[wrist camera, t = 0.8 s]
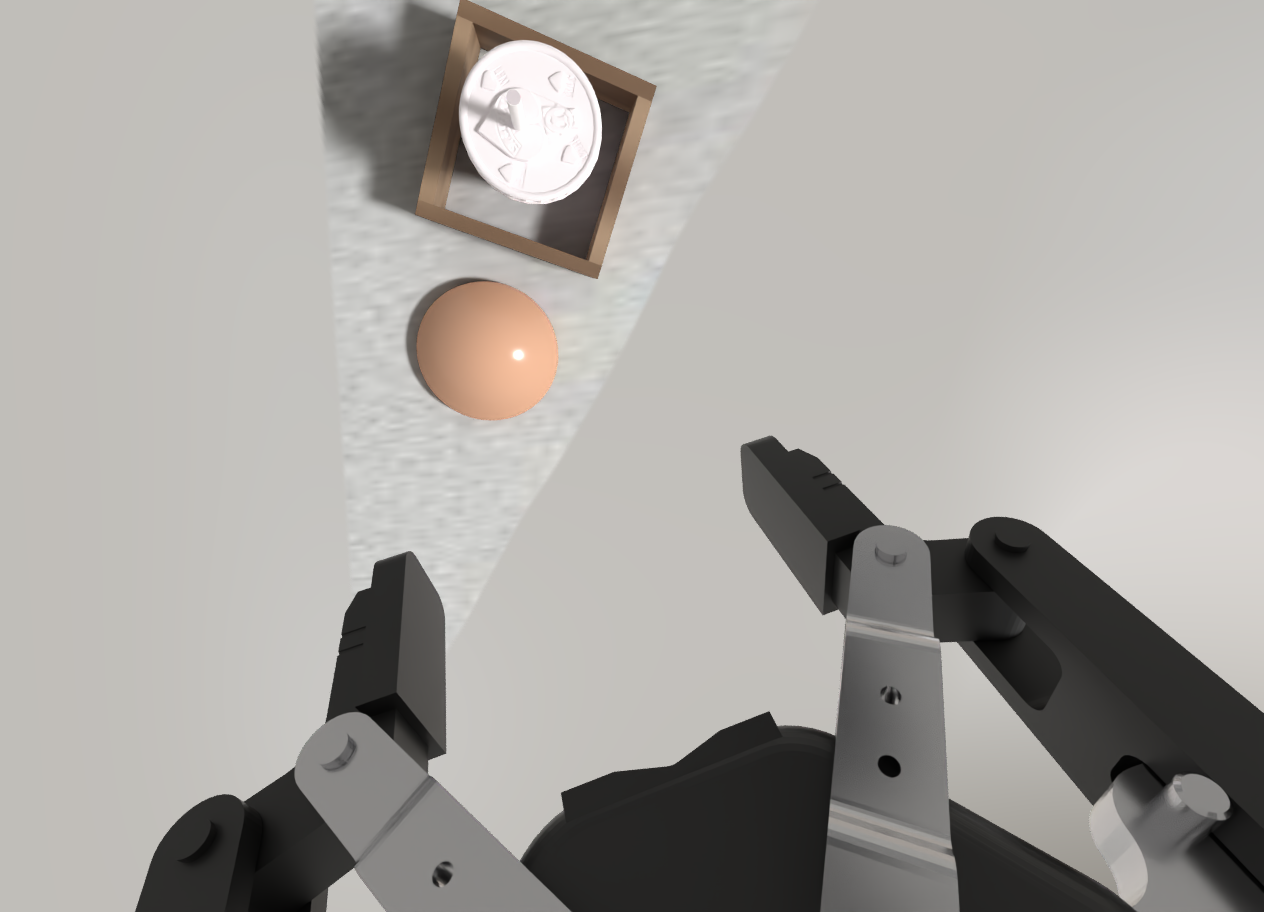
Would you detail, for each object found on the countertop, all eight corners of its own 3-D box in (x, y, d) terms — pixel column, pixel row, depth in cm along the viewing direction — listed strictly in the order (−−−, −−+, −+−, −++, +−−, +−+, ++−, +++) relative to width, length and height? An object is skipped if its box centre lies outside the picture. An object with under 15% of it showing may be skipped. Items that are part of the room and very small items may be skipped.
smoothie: (470, 108, 32) (416, 0, 19) (578, 94, 33) (599, -21, 20) (496, 226, 34) (463, 201, 21) (597, 210, 35) (626, 178, 22)
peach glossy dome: (436, 260, 34) (433, 261, 34) (574, 307, 37) (575, 308, 36) (406, 395, 37) (403, 398, 36) (537, 432, 39) (537, 435, 38)
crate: (469, 25, 31) (460, -3, 28) (645, 103, 33) (656, 86, 30) (427, 219, 34) (414, 214, 30) (593, 277, 36) (597, 279, 33)
